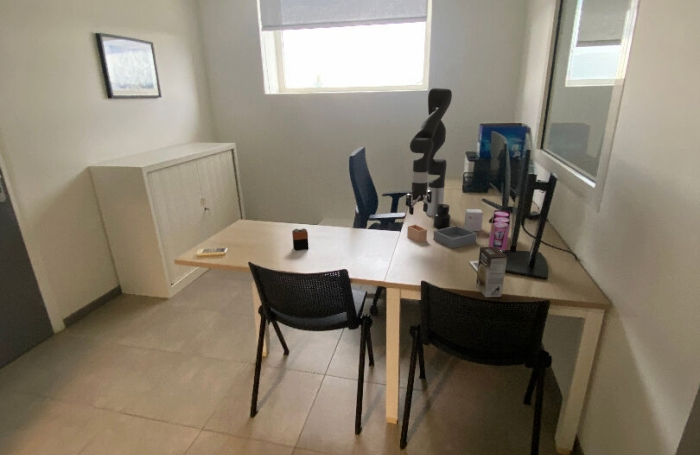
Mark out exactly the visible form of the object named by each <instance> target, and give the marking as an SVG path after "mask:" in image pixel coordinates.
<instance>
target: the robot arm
mask: <svg viewBox="0 0 700 455" xmlns="http://www.w3.org/2000/svg"><path fill="white" fill-rule="evenodd" d="M452 98H453V92H452V90H451V89H449V88H442V87H431V88H430V89H429V91H428V94H427V110H428V111H427V112H428V113H427V114H428V116H427V117H426V118H425V119H424V120H423V122H422V124H421V127H420V129H419V130H418V131H417V133H416V134H415V135H413V137H412V139H411V141H410V143H409V149H410V152H412V153H414V154H423V156H422V157H417V158H414V159H413V162H412V174H411V191H412V192H411V193H406V195H405V206H406V207H408V214H410V215H411V216H412V215H414V211H415V210H414V209H415V208H414V207H415V205H416V204H417V203H419V202H422V203H423V204H422V206H423V208H422V211H423V212H424V213H425V214H426V215H427V216H429V217H433V218H434V214H435V213H436V206H437V205H438V204H444V197H445V186H446V185H445V184H446V182H445V180H446V173H447V164H448V163H447V160H446V159H445V158H435V156H436V154H437V152H438V151H439V150H440V149H441V148H442V147H443V145H444V143H445V142H446V135H447V134H446V133H447V131H446V126H445V123H444V122H443V121H442V118H443V117H444V116H445V114H446V112H447V110H449V107H450V105H451V102H452ZM429 176H438V177H437V178H435V179H431V180H429Z"/></svg>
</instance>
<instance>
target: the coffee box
mask: <svg viewBox="0 0 700 455" xmlns="http://www.w3.org/2000/svg"><path fill="white" fill-rule="evenodd" d="M478 261H479V263H478V272H477V271H476V272H477V273H476V281H475V282H476V284H475V286H476V287H477V288H478V290H479V291H480V293H482V295H483V297H484V298H494V297H495V298H499V297H502V295H503V288H504V281H505V273H506V268H507V263H508V262H507V261H508V256H507V255H506V253H503V252H501V251H500V250H499V249H498V248H497V247H489V246H480V247H479V255H478Z"/></svg>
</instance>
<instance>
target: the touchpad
mask: <svg viewBox="0 0 700 455" xmlns="http://www.w3.org/2000/svg"><path fill="white" fill-rule="evenodd" d="M469 263H470V265H471V266H472V267H473V269H474V270H475V271H476V272H478V263H479V260H470V261H469Z"/></svg>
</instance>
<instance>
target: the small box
mask: <svg viewBox="0 0 700 455" xmlns="http://www.w3.org/2000/svg"><path fill="white" fill-rule="evenodd" d="M483 217H484V212H483V211H482V209H481V208H480V209H477V208H476V209H474V208H473V209H472V208H471V209H469V208H467V209H466V208H465V216H464V225H463V226H464V227H463V228H465V229H467V230H470V231H472V232H481V231H482V228H483V227H482V226H483Z"/></svg>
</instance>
